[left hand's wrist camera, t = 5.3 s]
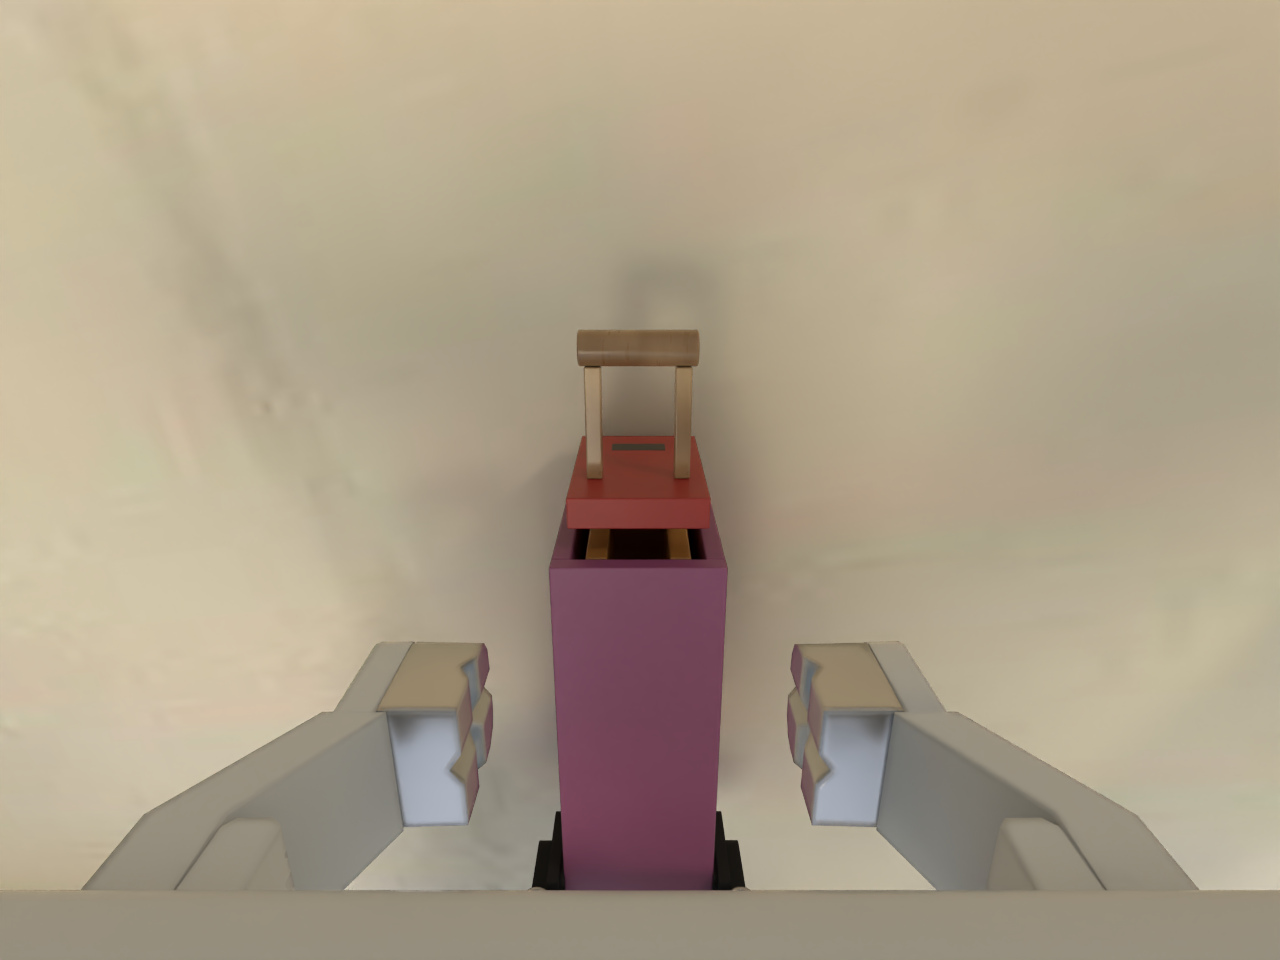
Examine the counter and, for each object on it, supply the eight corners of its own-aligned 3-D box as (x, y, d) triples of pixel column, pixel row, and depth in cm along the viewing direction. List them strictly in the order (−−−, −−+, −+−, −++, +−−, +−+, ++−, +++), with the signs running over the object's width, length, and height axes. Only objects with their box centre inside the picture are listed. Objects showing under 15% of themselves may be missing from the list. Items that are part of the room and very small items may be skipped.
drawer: (578, 311, 30) (559, 339, 23) (698, 311, 30) (716, 340, 23) (591, 760, 39) (580, 885, 31) (685, 760, 39) (696, 885, 31)
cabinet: (572, 477, 34) (548, 568, 25) (704, 476, 34) (727, 567, 25) (583, 796, 41) (567, 957, 32) (693, 796, 41) (709, 957, 32)
